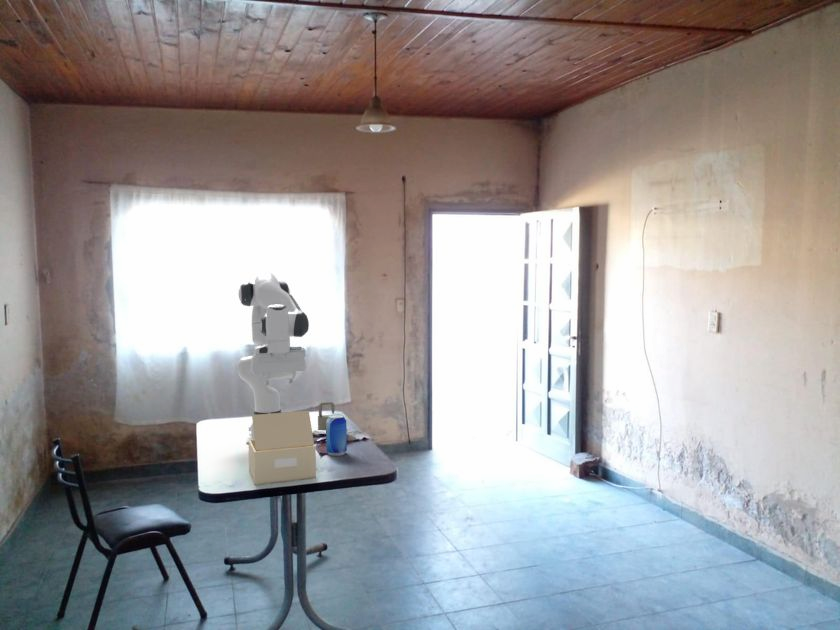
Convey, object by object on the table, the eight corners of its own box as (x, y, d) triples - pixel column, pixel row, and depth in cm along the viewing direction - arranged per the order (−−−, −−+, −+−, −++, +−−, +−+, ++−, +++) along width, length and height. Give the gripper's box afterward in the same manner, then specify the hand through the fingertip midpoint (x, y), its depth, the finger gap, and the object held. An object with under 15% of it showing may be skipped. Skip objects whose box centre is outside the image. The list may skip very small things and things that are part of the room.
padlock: (336, 433, 311) (335, 402, 310) (318, 434, 309) (318, 403, 308) (335, 431, 315) (334, 400, 314) (317, 432, 313) (317, 401, 312)
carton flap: (252, 415, 245) (252, 415, 245) (308, 411, 253) (308, 410, 252) (255, 450, 238) (255, 449, 237) (313, 444, 245) (314, 444, 245)
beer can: (332, 457, 272) (332, 419, 271) (322, 453, 279) (322, 415, 278) (350, 454, 277) (350, 416, 276) (340, 449, 284) (340, 412, 283)
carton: (249, 470, 255) (248, 440, 254) (306, 464, 262) (305, 434, 262) (255, 485, 238) (254, 452, 237) (316, 478, 246) (315, 446, 245)
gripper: (303, 345, 257) (304, 380, 258) (249, 347, 250) (250, 384, 251) (307, 347, 252) (307, 383, 252) (251, 349, 244) (252, 387, 245)
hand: (278, 383), depth 252 cm, fingers open, 8 cm apart
